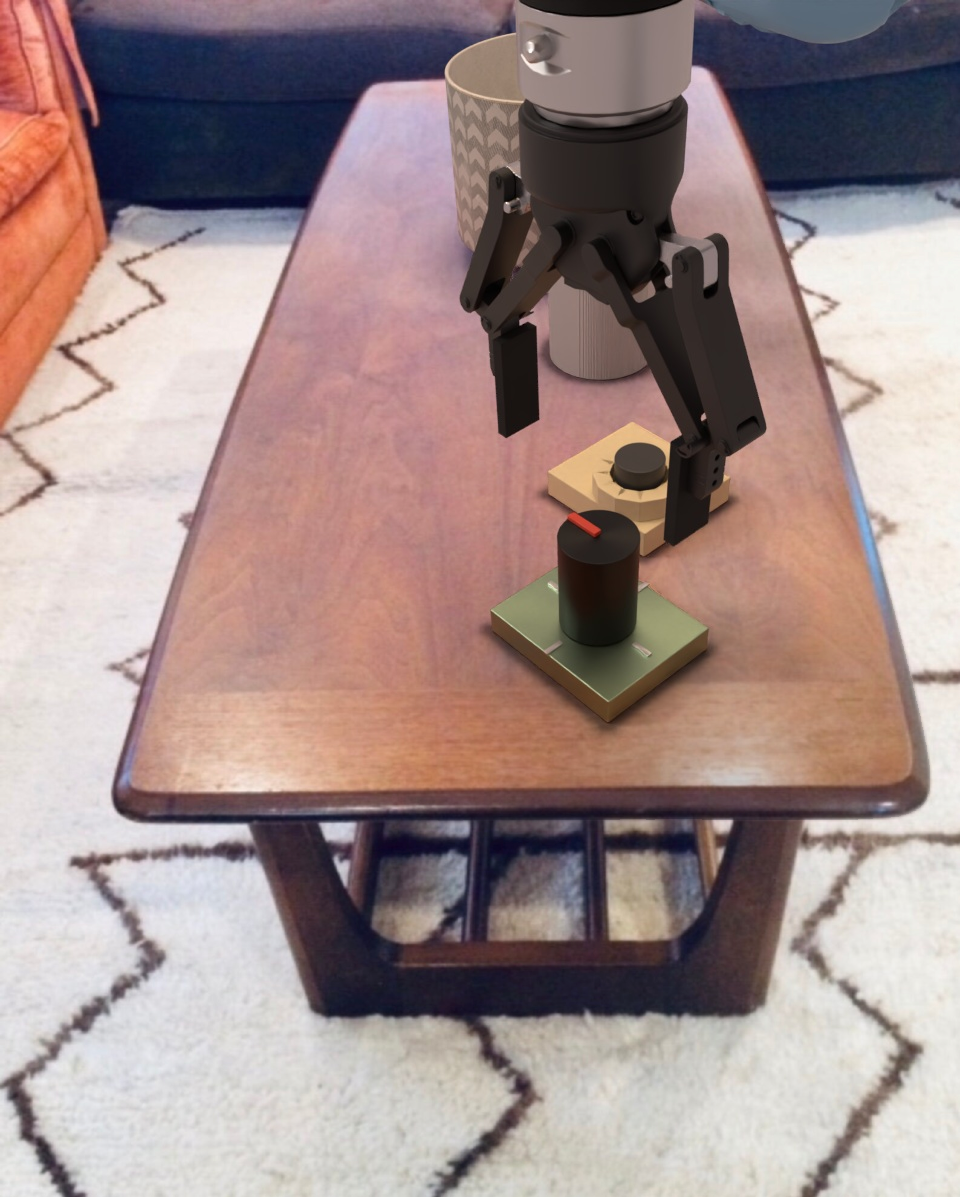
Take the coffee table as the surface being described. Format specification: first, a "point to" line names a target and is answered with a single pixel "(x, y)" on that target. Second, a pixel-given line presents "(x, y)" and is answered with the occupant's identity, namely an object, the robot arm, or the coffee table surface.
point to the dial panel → (607, 670)
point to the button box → (595, 488)
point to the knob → (598, 576)
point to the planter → (483, 129)
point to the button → (639, 466)
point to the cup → (591, 335)
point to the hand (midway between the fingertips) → (597, 476)
